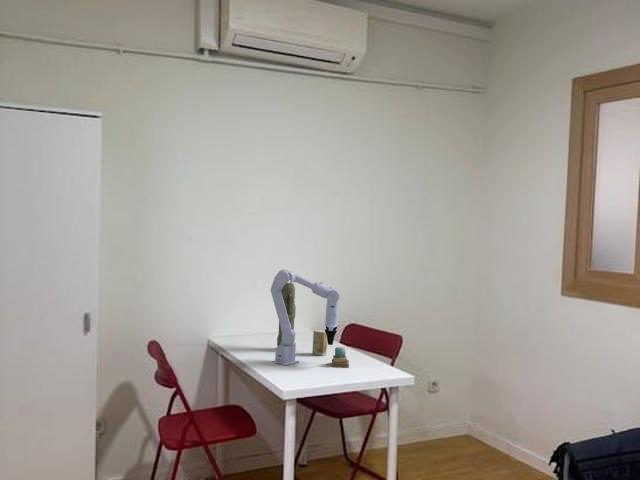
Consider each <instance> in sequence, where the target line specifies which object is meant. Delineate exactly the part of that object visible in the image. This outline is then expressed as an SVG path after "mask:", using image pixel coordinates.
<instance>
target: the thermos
mask: <svg viewBox="0 0 640 480" xmlns="http://www.w3.org/2000/svg"><path fill="white" fill-rule="evenodd" d="M281 293H282V297H283V300H284V304H285V308H286V311H287V315H288V318H289V322H290V324H291V327H292V329H293V330H294V331H295V319H296V309H297V307H296V302H295V298H296V288H295V284H294V283H290V282H288V283H287V284H285V285H284V286H283V288H282V290H281ZM281 338H282V332H281V326H280V322H279V321H278V336H277V339H276V341H277V342H276V347H277V346H279V345H280V344H281V342H282V339H281Z"/></svg>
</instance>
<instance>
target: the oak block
mask: <svg viewBox="0 0 640 480" xmlns="http://www.w3.org/2000/svg"><path fill="white" fill-rule="evenodd" d="M332 359H333V361H334V363H347V360H348V358H347V355H345V357H344V358H336V357H335V354H334V355H333V356H332Z"/></svg>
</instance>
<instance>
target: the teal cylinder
mask: <svg viewBox="0 0 640 480" xmlns="http://www.w3.org/2000/svg"><path fill="white" fill-rule="evenodd" d="M334 355H335V357H336V358H344V357H345V356H346V348H345V347H340V346H339V347H337V346H336V347H335V348H334Z"/></svg>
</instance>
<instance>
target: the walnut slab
mask: <svg viewBox="0 0 640 480" xmlns="http://www.w3.org/2000/svg"><path fill="white" fill-rule="evenodd" d="M349 366H350V361H349V359H347V363H334V361H333V358H332V359H331V368H344V369H345V368H347V369H349V368H350V367H349Z"/></svg>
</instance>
